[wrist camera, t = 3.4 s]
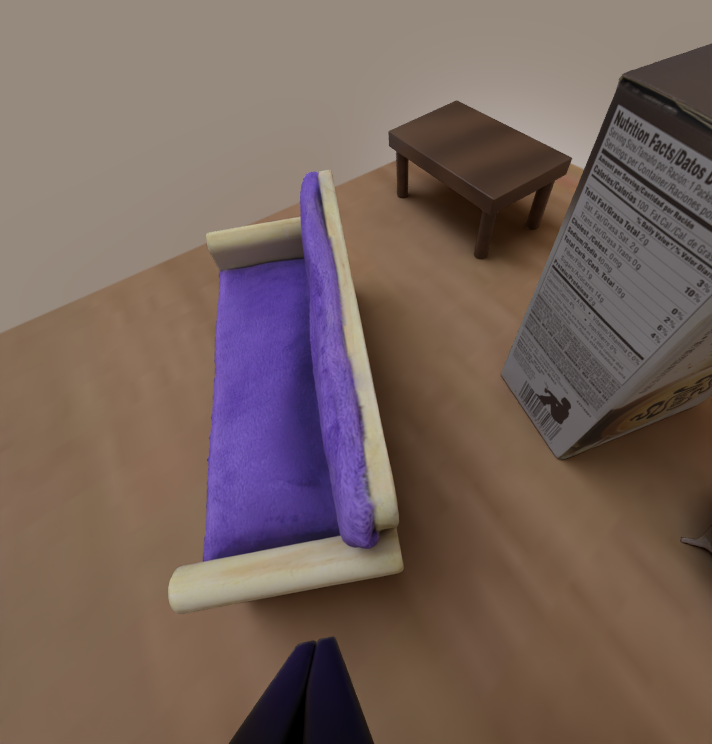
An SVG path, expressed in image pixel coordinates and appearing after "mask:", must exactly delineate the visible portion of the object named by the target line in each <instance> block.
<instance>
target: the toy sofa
mask: <svg viewBox="0 0 712 744" xmlns="http://www.w3.org/2000/svg"><path fill="white" fill-rule="evenodd" d="M300 193H301V194H300V205H301V217H297V218H291V219H286V220H280V221H274V222H268V223H262V224H256V225H250V226H244V227H239V228H233V229H228V230H221V231H216V232H210V233H208V234H207V236H206V239H207V246H208V249H209V252H210V254H211V256H212V257H213V259H214V261H215V263H216V265H217V267H218V269H219V271H220V272H219V278H220V283H219V301H218V302H219V303H218V312H217V324H216V337H215V378H214V383H215V384H214V395H213V413H212V417H211V419H212V427H211V434H210V438H209V439H210V448H209V458H208V459H207V461H208V465H209V468H208V481H207V485H208V486H207V505H206V508H207V519H206V534H205V538H204V542H205V544H204V555H203V562H200V563H195V564H190V565H185V566H179V567H178V568H177V569H176V570H175V572H174V573H173V576H172V578H171V580H170V583H169V588H168V597H169V603H170V606H171V608H172V610H173V611H174V612H176V613H178V614H185V613H190V612H196V611H201V610H206V609H211V608H216V607H222V606H227V605H232V604H237V603H242V602H248V601H253V600H258V599H263V598H269V597H274V596H279V595H284V594H290V593H295V592H300V591H306V590H311V589H316V588H321V587H327V586H332V585H338V584H344V583H349V582H355V581H360V580H366V579H371V578H376V577H381V576H387V575H392V574H397V573H400V572H401V571H403V568H404V565H403V560H402V555H401V549H400V544H399V539H398V534H397V526H398V524H399V513H398V505H397V497H396V492H395V487H394V481H393V476H392V471H391V466H390V461H389V456H388V452H387V447H386V442H385V438H384V433H383V428H382V423H381V419H380V414H379V409H378V404H377V399H376V394H375V389H374V384H373V379H372V374H371V369H370V364H369V358H368V353H367V348H366V343H365V338H364V333H363V328H362V323H361V319H360V314H359V309H358V303H357V298H356V293H355V288H354V283H353V278H352V273H351V268H350V263H349V258H348V254H347V249H346V244H345V239H344V234H343V228H342V223H341V218H340V213H339V208H338V202H337V197H336V192H335V186H334V180H333V175H332V172H331V170H324V171H320V172H318V173H317V172H311V173H308V174H306V176H305V178H304V179H303V183H302V186H301V192H300Z"/></svg>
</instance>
